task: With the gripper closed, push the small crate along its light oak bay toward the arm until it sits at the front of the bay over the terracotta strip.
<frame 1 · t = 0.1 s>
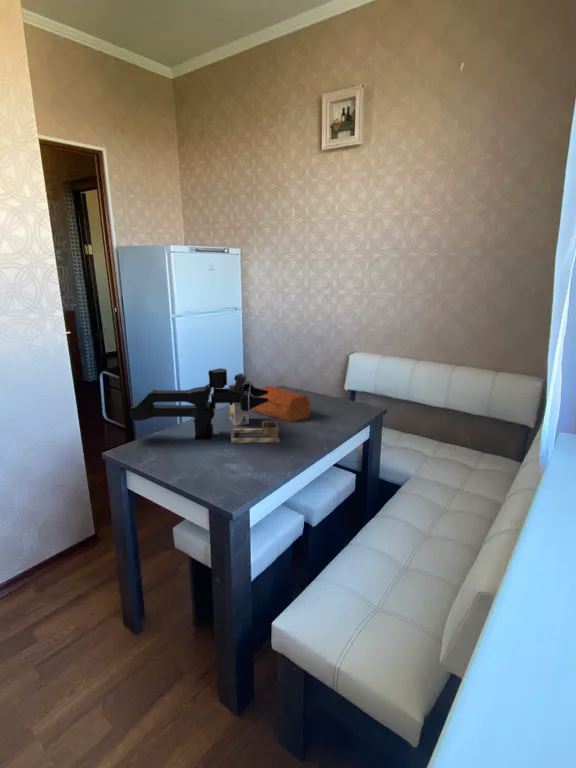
hand: (268, 395, 163), 17 cm above the table, tool horizontal, fingers open, 9 cm apart
crate: (269, 430, 164), point 3 cm above the table, slide at 10.0 cm
oak bay: (257, 438, 165), on the table
coffee box: (239, 423, 181), on the table
bread: (280, 413, 193), on the table
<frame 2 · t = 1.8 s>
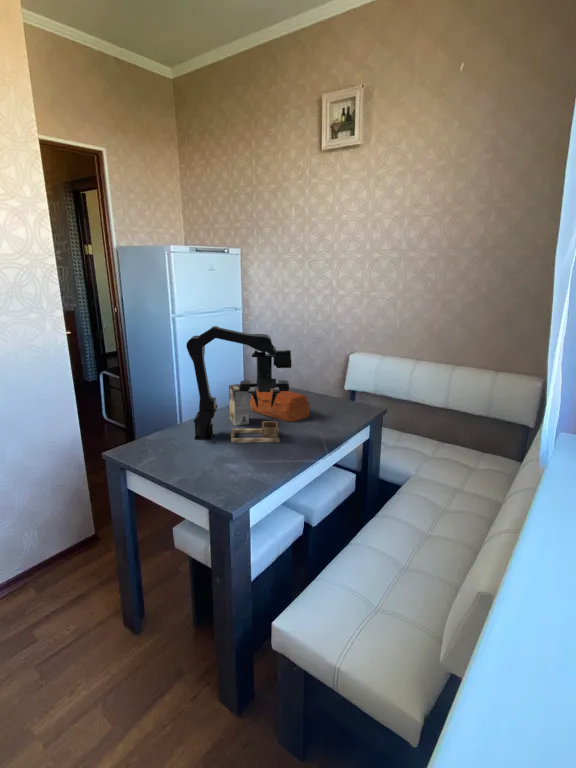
hand: (264, 406, 164), 12 cm above the table, tool pointing down, fingers open, 5 cm apart
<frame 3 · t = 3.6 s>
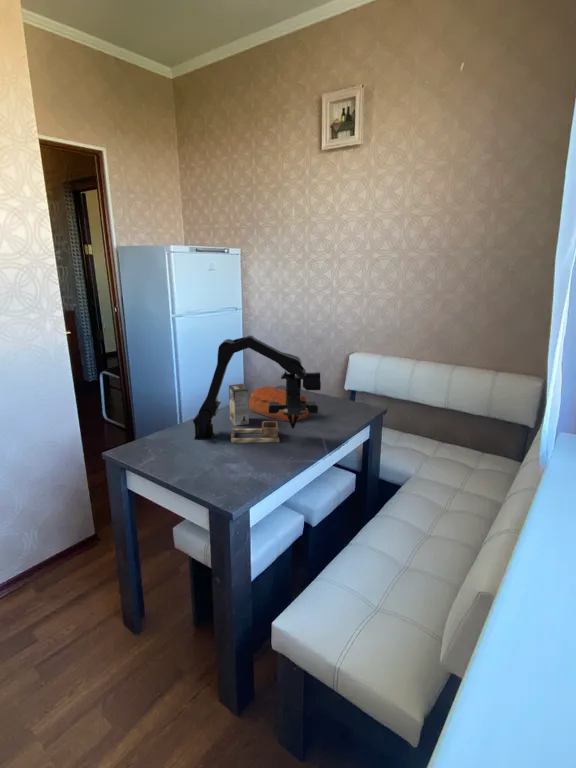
hand: (292, 428, 164), 4 cm above the table, tool pointing down, fingers closed
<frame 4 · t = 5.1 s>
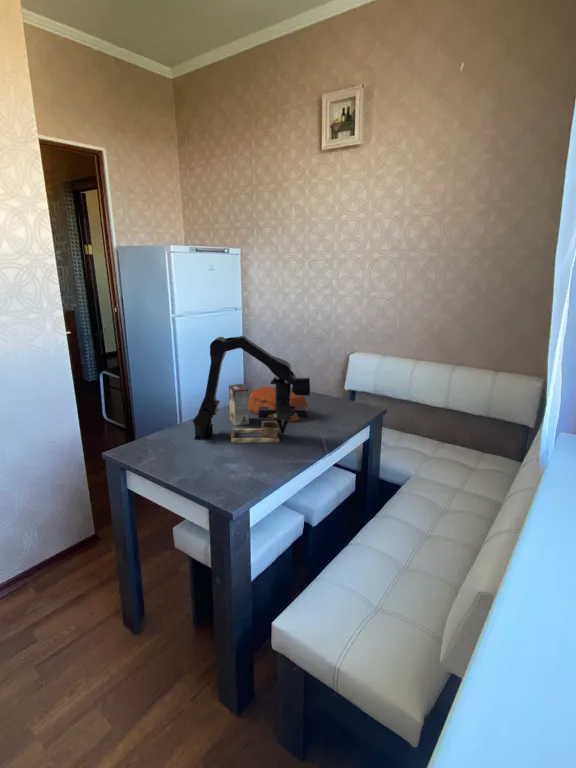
hand: (282, 432, 165), 2 cm above the table, tool pointing down, fingers closed
crate: (269, 430, 164), point 3 cm above the table, slide at 9.9 cm, touching gripper
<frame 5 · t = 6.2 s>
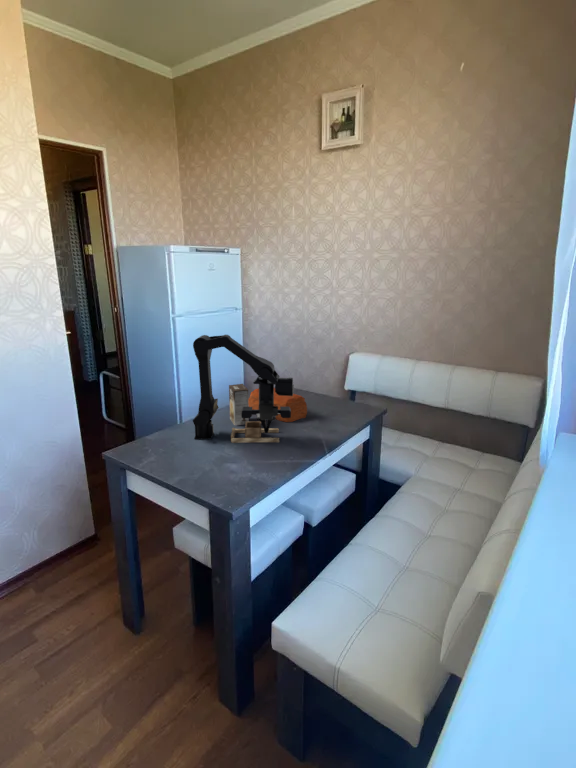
hand: (266, 432, 164), 2 cm above the table, tool pointing down, fingers closed
crate: (253, 430, 164), point 3 cm above the table, slide at 3.6 cm, touching gripper
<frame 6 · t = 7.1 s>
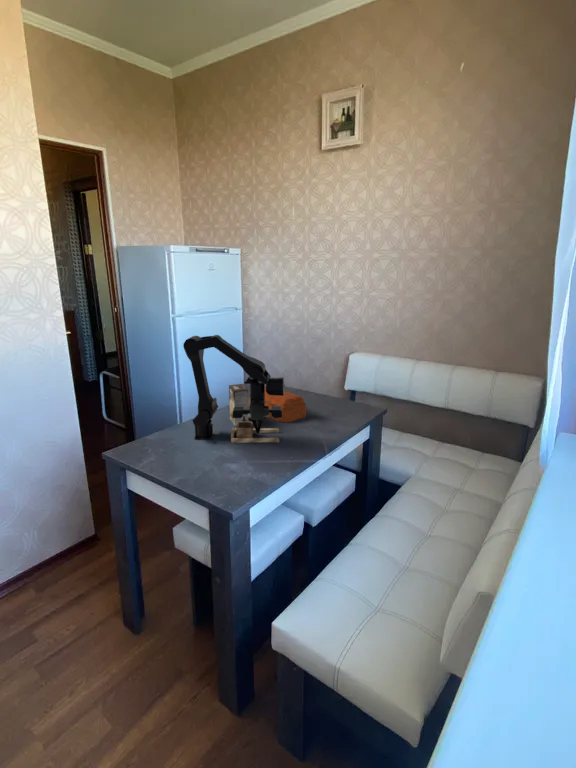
hand: (257, 432, 164), 2 cm above the table, tool pointing down, fingers closed
crate: (244, 430, 164), point 3 cm above the table, slide at 0.3 cm, touching gripper
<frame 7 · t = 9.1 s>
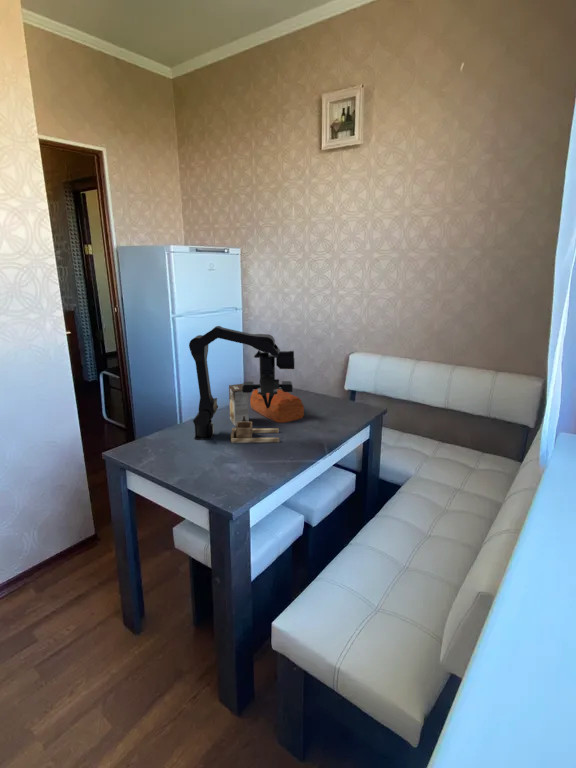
hand: (267, 408, 162), 12 cm above the table, tool pointing down, fingers closed
crate: (244, 430, 164), point 3 cm above the table, slide at 0.1 cm
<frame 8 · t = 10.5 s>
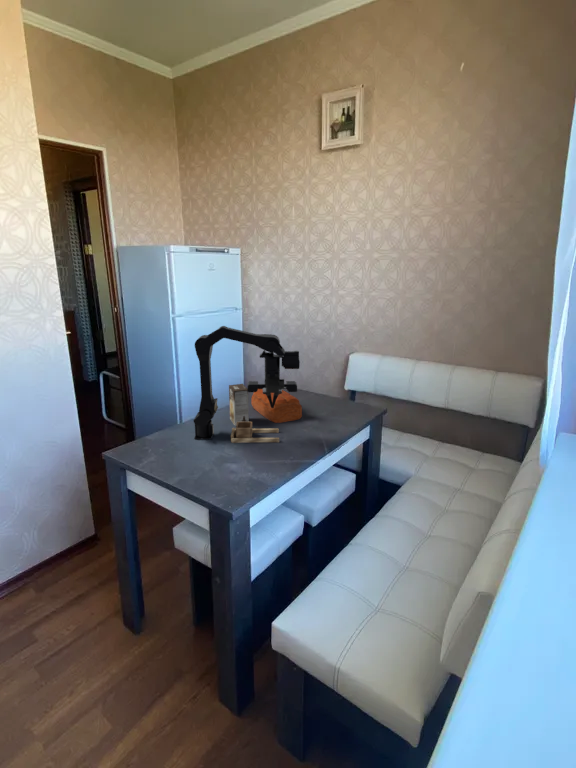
hand: (272, 407, 164), 12 cm above the table, tool pointing down, fingers closed
at the end: crate slide at 0.1 cm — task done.
